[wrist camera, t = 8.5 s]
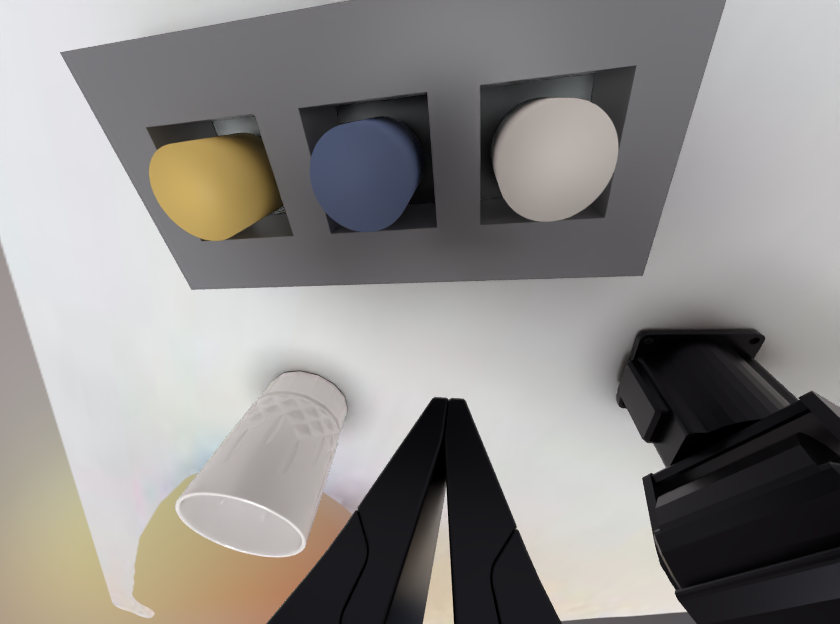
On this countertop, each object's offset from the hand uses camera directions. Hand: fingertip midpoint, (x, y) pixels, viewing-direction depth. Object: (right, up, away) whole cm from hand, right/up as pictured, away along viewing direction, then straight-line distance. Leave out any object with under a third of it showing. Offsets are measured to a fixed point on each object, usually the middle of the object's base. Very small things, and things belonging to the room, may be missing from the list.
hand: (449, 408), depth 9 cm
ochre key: (-9, +9, +7) cm, 15 cm away
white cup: (-10, -5, +19) cm, 22 cm away
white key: (+4, +9, +5) cm, 11 cm away
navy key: (-2, +9, +6) cm, 11 cm away
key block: (-2, +10, +8) cm, 13 cm away
